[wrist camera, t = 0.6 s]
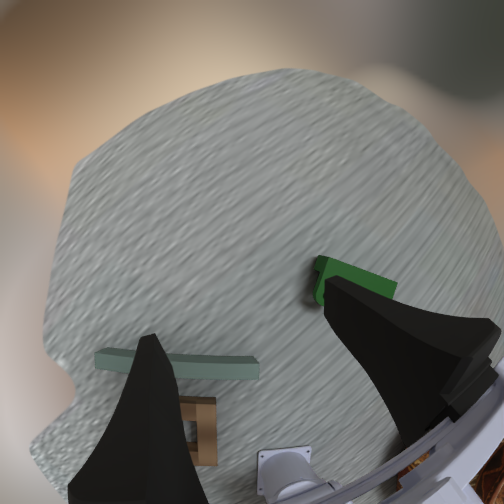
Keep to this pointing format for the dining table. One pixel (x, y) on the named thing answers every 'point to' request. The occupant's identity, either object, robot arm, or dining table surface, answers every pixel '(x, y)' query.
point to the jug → (478, 477)
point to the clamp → (349, 278)
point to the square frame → (201, 428)
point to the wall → (186, 365)
